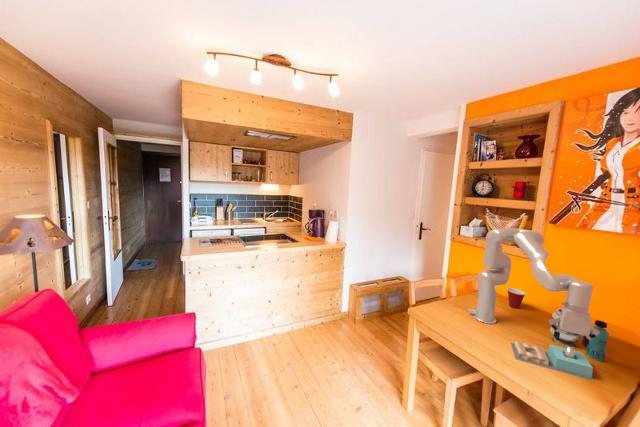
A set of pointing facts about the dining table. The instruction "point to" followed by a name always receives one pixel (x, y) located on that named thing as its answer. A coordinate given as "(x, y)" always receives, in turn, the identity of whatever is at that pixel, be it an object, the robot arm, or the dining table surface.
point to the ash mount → (531, 353)
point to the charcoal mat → (550, 365)
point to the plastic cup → (515, 297)
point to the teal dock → (570, 362)
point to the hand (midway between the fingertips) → (570, 342)
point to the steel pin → (569, 351)
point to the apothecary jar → (564, 333)
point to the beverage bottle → (598, 342)
